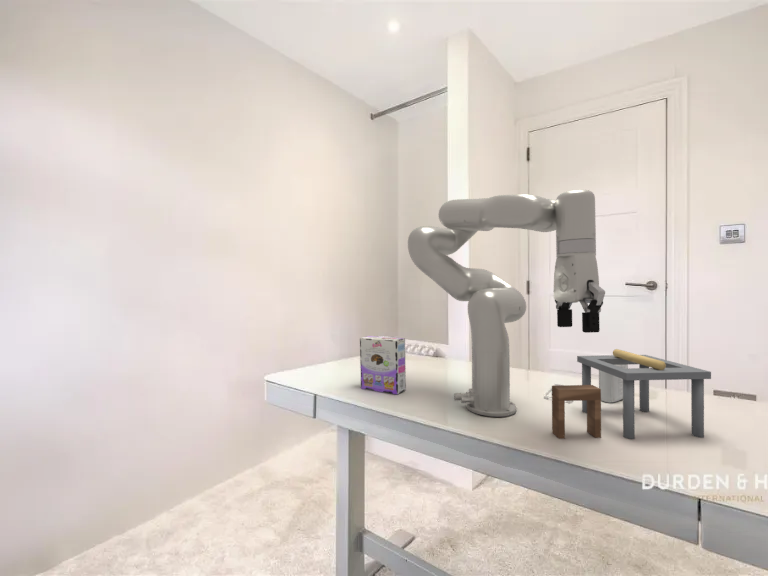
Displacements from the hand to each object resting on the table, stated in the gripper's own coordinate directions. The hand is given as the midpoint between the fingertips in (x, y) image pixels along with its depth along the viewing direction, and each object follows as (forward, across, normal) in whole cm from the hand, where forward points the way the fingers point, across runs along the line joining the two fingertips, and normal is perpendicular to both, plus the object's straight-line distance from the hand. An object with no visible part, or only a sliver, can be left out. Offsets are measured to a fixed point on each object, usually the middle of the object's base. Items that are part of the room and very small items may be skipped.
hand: (577, 329), depth 76 cm
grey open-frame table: (+23, -6, +18) cm, 30 cm away
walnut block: (+23, 0, 0) cm, 23 cm away
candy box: (+23, -36, -41) cm, 60 cm away
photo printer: (+23, -24, +24) cm, 41 cm away
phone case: (+24, -28, +12) cm, 39 cm away
